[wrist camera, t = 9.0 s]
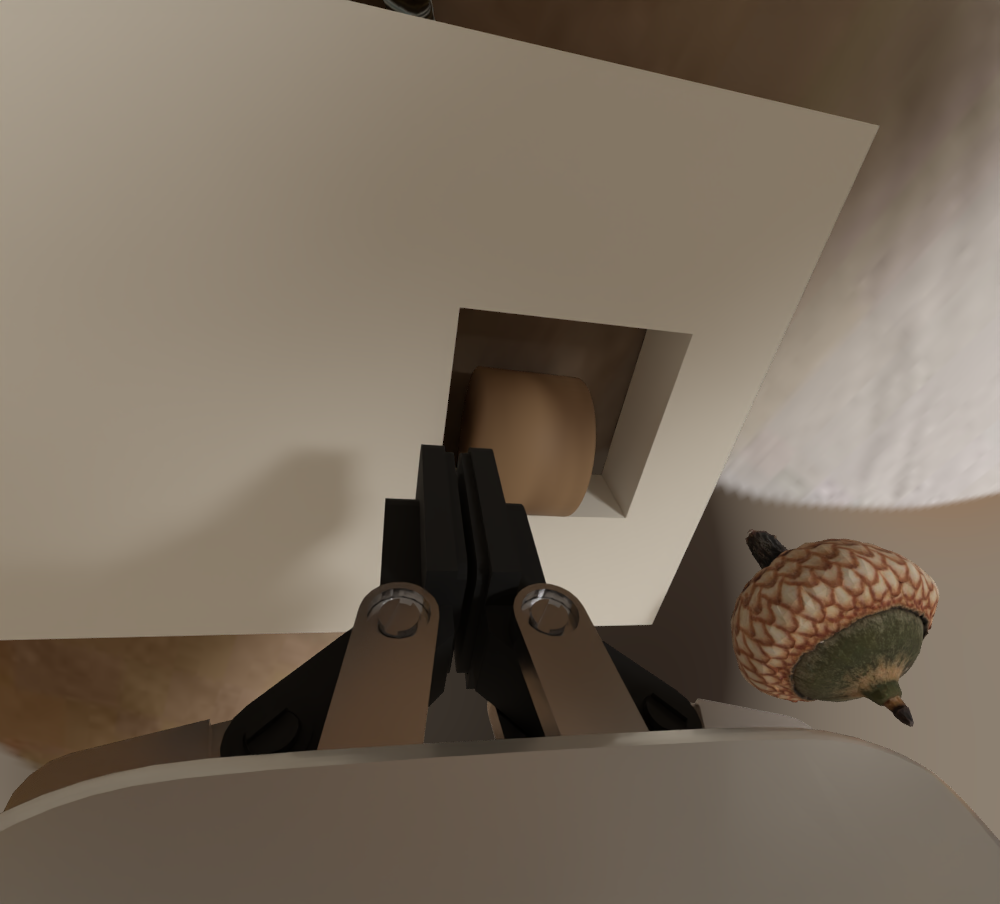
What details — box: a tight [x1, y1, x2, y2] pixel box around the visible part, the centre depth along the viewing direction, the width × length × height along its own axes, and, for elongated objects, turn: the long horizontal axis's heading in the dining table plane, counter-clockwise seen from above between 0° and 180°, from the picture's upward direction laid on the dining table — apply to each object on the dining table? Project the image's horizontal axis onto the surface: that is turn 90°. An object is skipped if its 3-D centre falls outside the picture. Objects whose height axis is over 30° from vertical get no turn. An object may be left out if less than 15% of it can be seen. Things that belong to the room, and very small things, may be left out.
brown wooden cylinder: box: [458, 366, 596, 517], centre depth 18 cm, size 5×5×4 cm
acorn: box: [731, 529, 939, 726], centre depth 23 cm, size 8×8×10 cm
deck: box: [0, 0, 879, 640], centre depth 17 cm, size 28×20×3 cm
